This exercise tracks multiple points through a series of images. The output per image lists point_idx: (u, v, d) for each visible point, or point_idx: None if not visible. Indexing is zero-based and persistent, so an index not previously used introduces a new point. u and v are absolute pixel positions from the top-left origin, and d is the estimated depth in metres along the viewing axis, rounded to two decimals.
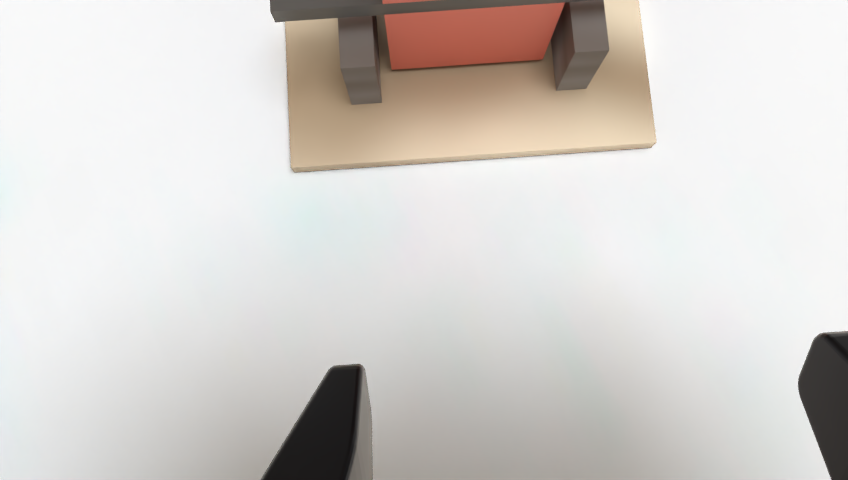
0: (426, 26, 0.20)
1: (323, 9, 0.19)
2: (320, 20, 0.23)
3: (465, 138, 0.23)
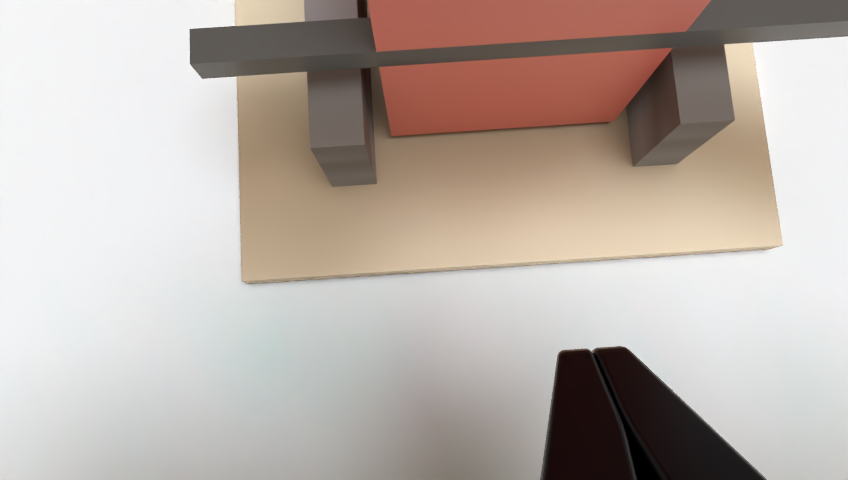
0: (446, 82, 0.13)
1: (279, 60, 0.11)
2: None
3: (499, 238, 0.15)
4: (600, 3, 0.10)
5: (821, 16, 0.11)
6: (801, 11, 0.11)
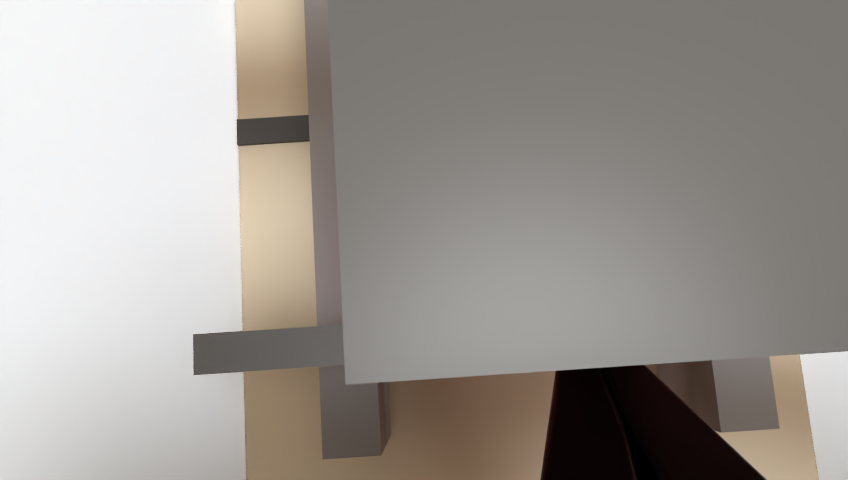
0: None
1: (289, 368, 0.10)
2: (296, 297, 0.15)
3: None
4: None
5: None
6: None
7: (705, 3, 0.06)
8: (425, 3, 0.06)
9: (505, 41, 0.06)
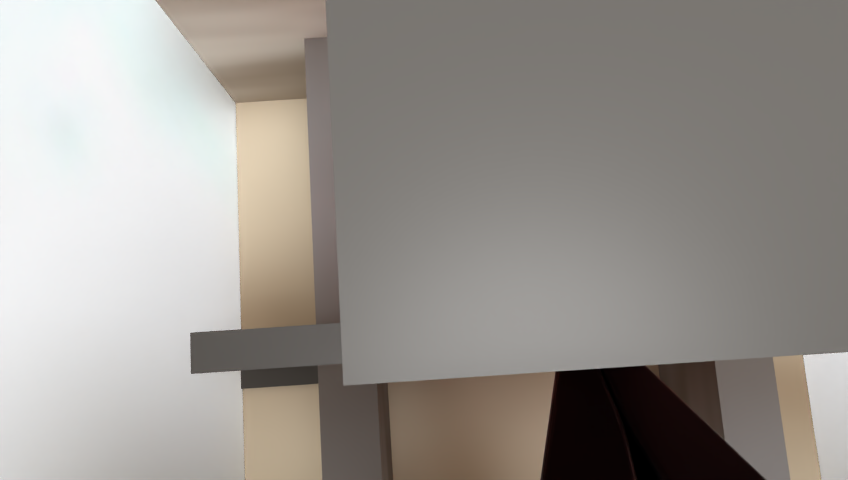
0: None
1: (287, 366, 0.10)
2: None
3: None
4: None
5: None
6: None
7: None
8: None
9: (506, 32, 0.05)
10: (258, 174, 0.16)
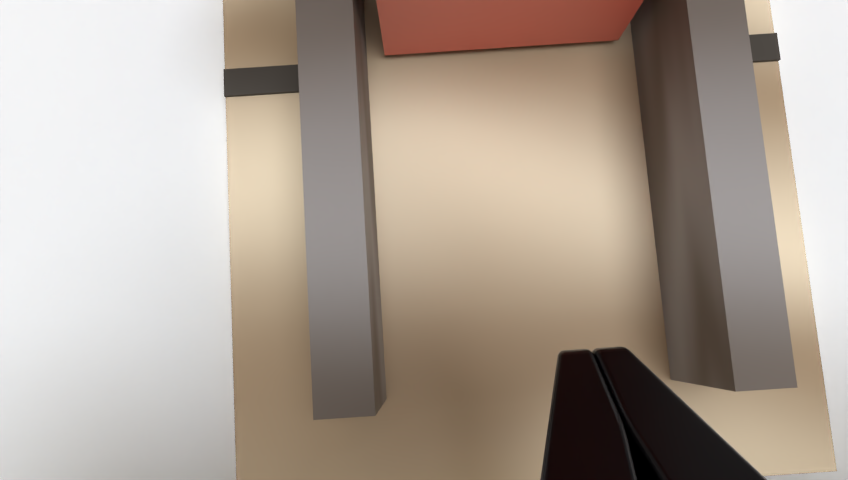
0: None
1: None
2: (287, 255, 0.14)
3: (523, 462, 0.14)
4: None
5: None
6: None
7: None
8: None
9: None
10: None
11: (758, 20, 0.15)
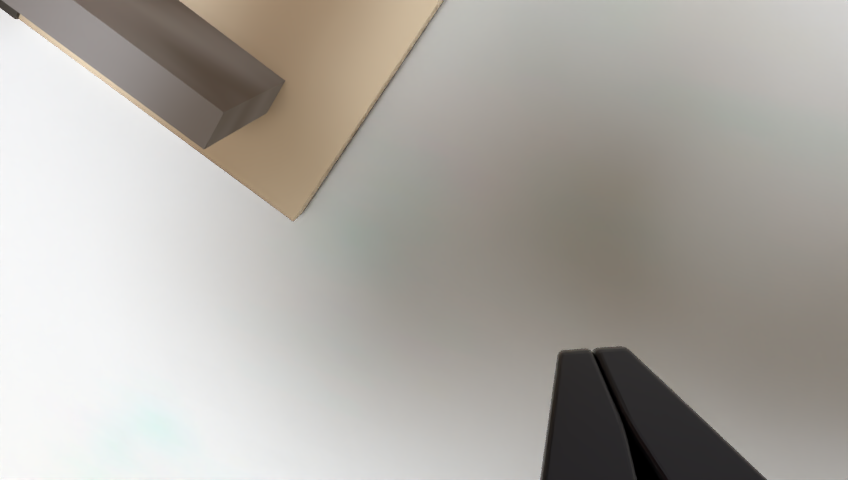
0: None
1: None
2: None
3: (392, 24, 0.15)
4: None
5: None
6: None
7: None
8: None
9: None
10: None
11: None
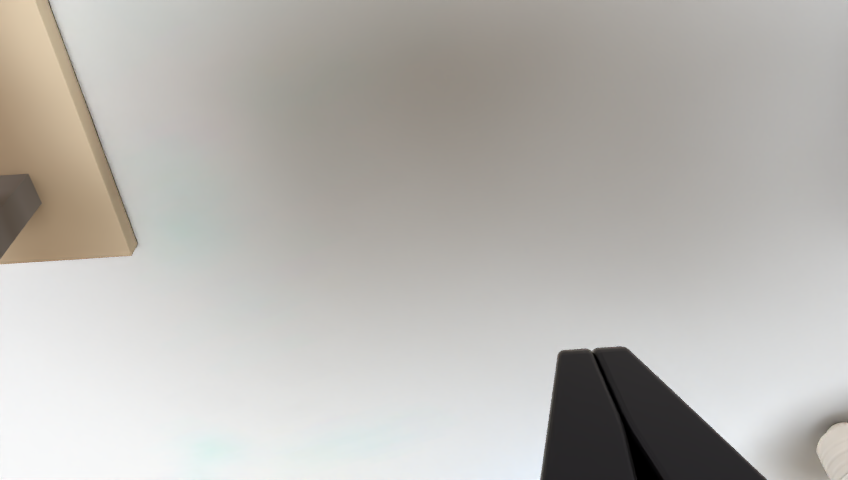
0: None
1: None
2: None
3: (42, 82, 0.18)
4: None
5: None
6: None
7: None
8: None
9: None
10: None
11: None
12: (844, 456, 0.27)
